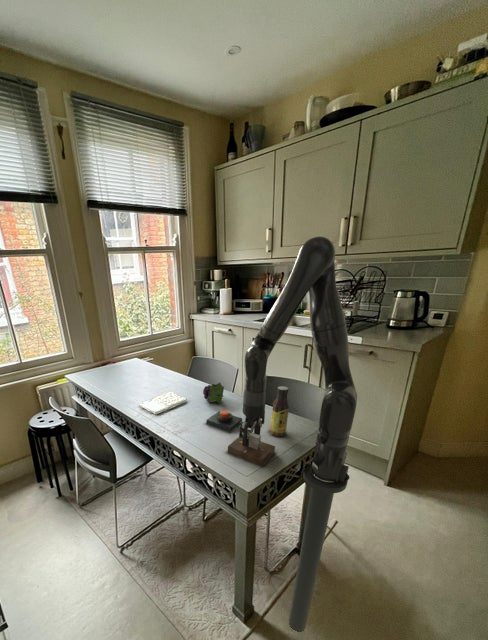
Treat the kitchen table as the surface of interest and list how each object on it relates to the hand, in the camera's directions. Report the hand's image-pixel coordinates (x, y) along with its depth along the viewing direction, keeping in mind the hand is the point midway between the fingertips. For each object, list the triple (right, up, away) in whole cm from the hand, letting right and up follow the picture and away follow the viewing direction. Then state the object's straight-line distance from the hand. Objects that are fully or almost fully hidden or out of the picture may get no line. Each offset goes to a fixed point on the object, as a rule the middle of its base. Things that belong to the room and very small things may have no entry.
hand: (251, 440), depth 115 cm
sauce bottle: (+14, +1, +14) cm, 20 cm away
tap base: (0, -5, +2) cm, 5 cm away
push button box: (-7, +5, +23) cm, 24 cm away
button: (-7, +8, +21) cm, 24 cm away
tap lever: (0, -2, +1) cm, 2 cm away
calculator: (-35, +13, +42) cm, 56 cm away
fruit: (-11, +14, +44) cm, 47 cm away
